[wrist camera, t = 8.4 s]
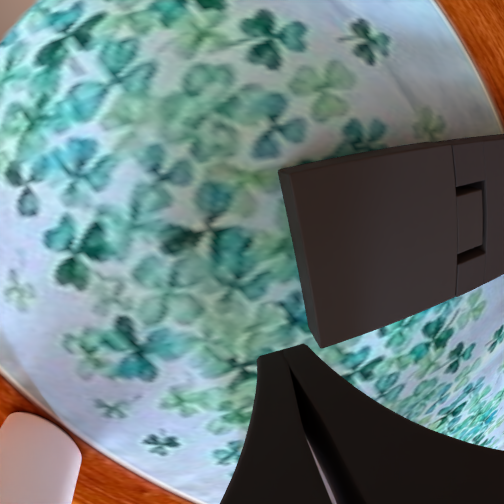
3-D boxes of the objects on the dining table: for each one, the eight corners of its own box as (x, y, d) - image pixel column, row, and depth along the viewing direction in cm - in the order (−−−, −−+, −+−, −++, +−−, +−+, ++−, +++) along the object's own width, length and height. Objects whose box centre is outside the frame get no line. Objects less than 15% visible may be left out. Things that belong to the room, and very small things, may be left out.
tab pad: (459, 273, 17) (479, 285, 15) (308, 327, 16) (320, 349, 14) (453, 138, 14) (478, 140, 12) (276, 169, 13) (288, 173, 12)
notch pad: (514, 248, 17) (533, 257, 15) (436, 283, 17) (456, 297, 15) (512, 133, 14) (534, 135, 12) (427, 143, 14) (452, 144, 12)
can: (36, 399, 16) (-24, 549, 4) (100, 458, 18) (78, 598, 6) (-6, 416, 16) (-59, 532, 4) (50, 468, 18) (22, 581, 7)
